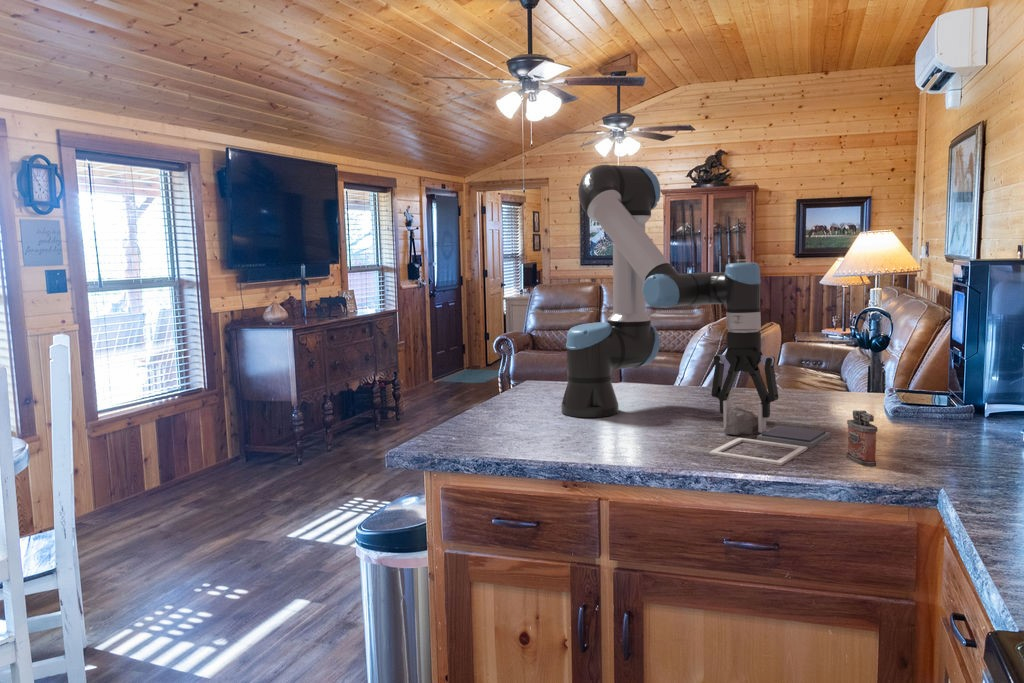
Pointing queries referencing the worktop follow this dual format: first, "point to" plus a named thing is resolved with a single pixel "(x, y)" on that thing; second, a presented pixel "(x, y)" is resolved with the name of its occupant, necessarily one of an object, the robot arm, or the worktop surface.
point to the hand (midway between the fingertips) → (744, 429)
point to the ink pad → (794, 436)
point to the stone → (741, 422)
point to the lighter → (862, 439)
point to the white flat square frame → (780, 462)
